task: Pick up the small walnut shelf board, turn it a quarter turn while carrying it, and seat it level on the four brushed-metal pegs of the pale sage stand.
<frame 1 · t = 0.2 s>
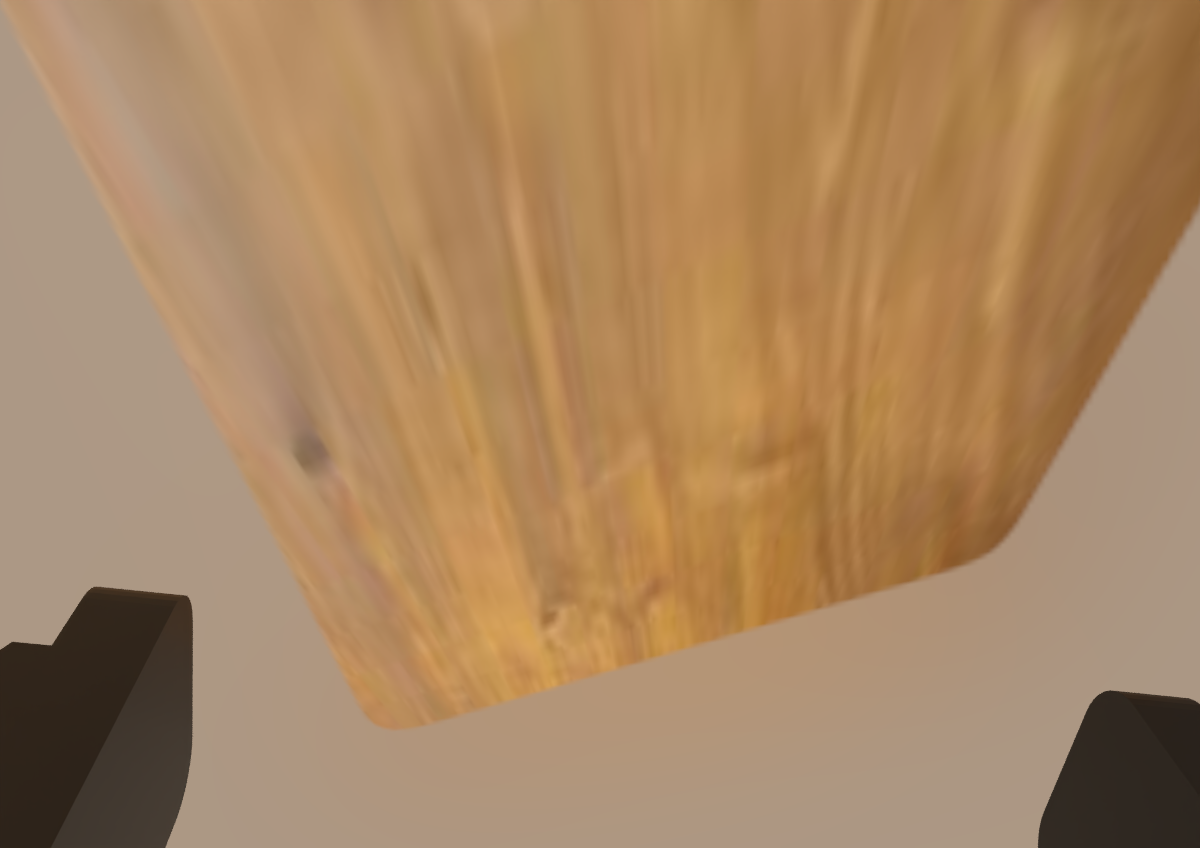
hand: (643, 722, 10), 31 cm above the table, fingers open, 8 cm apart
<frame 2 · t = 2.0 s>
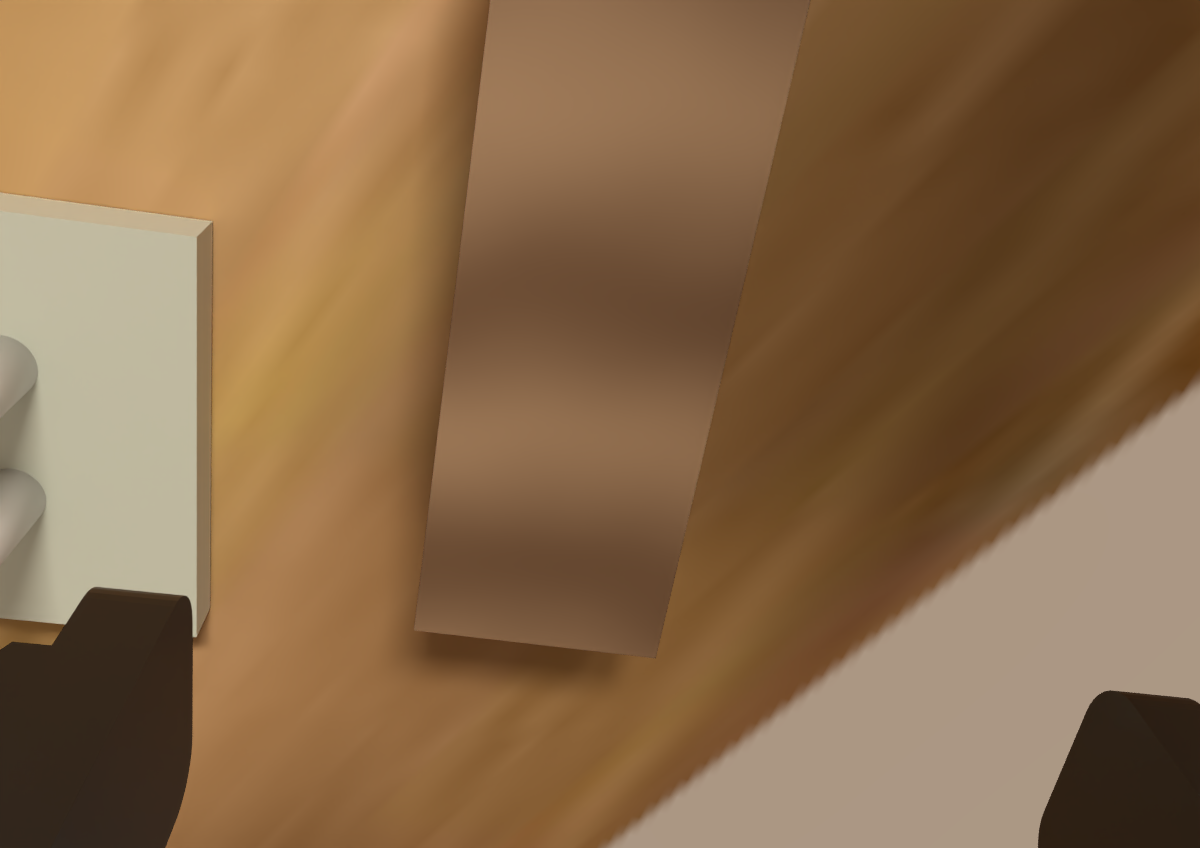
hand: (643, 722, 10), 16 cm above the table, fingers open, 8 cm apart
walnut shelf board: (591, 224, 25), on the table
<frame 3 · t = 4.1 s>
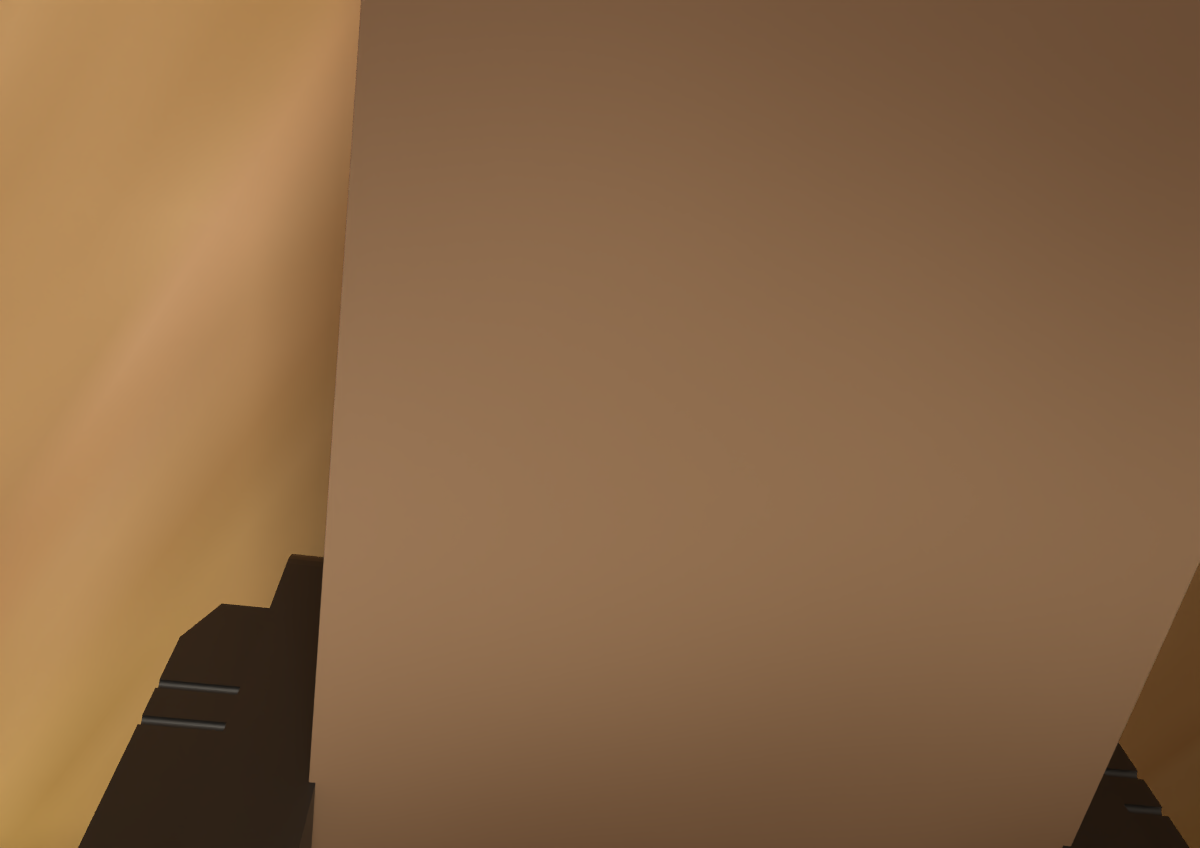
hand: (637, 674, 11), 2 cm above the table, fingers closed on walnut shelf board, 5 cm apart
walnut shelf board: (628, 585, 12), on the table, touching gripper
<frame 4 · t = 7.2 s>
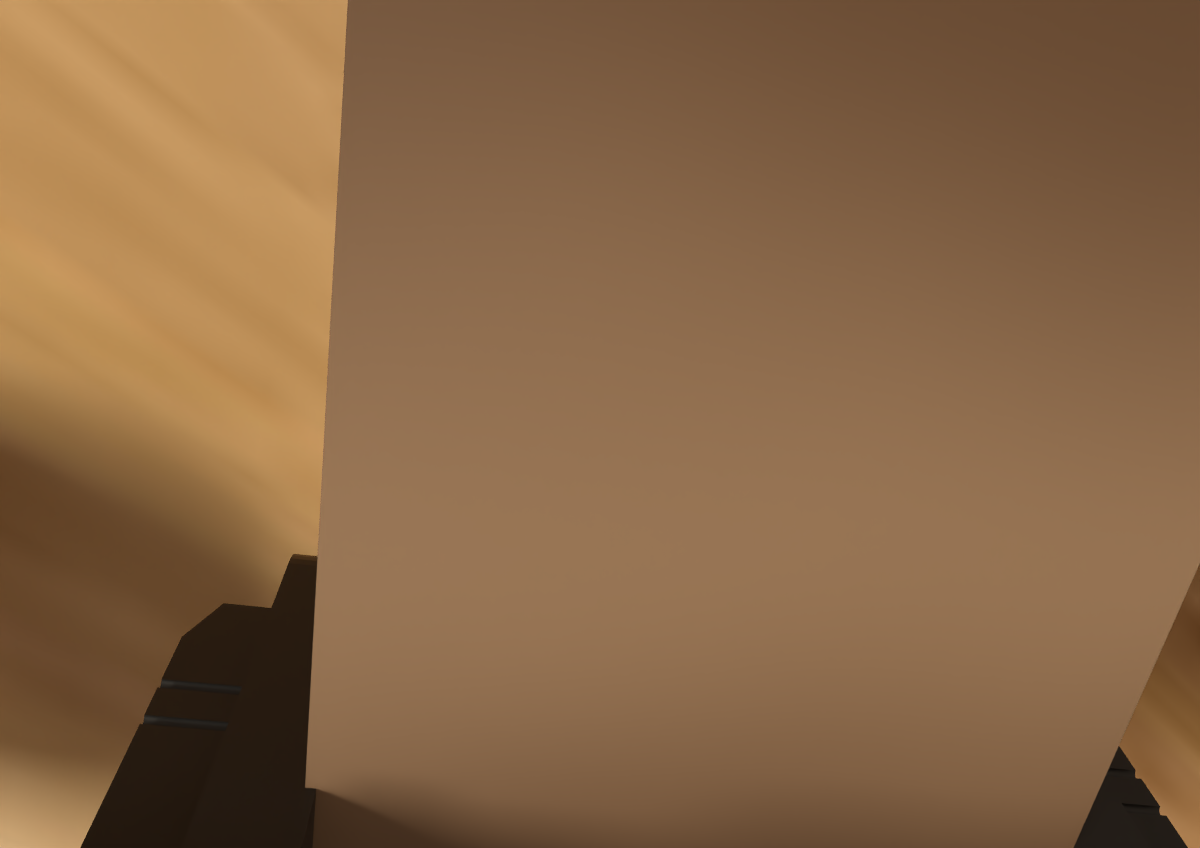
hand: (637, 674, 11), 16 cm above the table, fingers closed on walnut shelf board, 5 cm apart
walnut shelf board: (627, 590, 12), point 14 cm above the table, touching gripper
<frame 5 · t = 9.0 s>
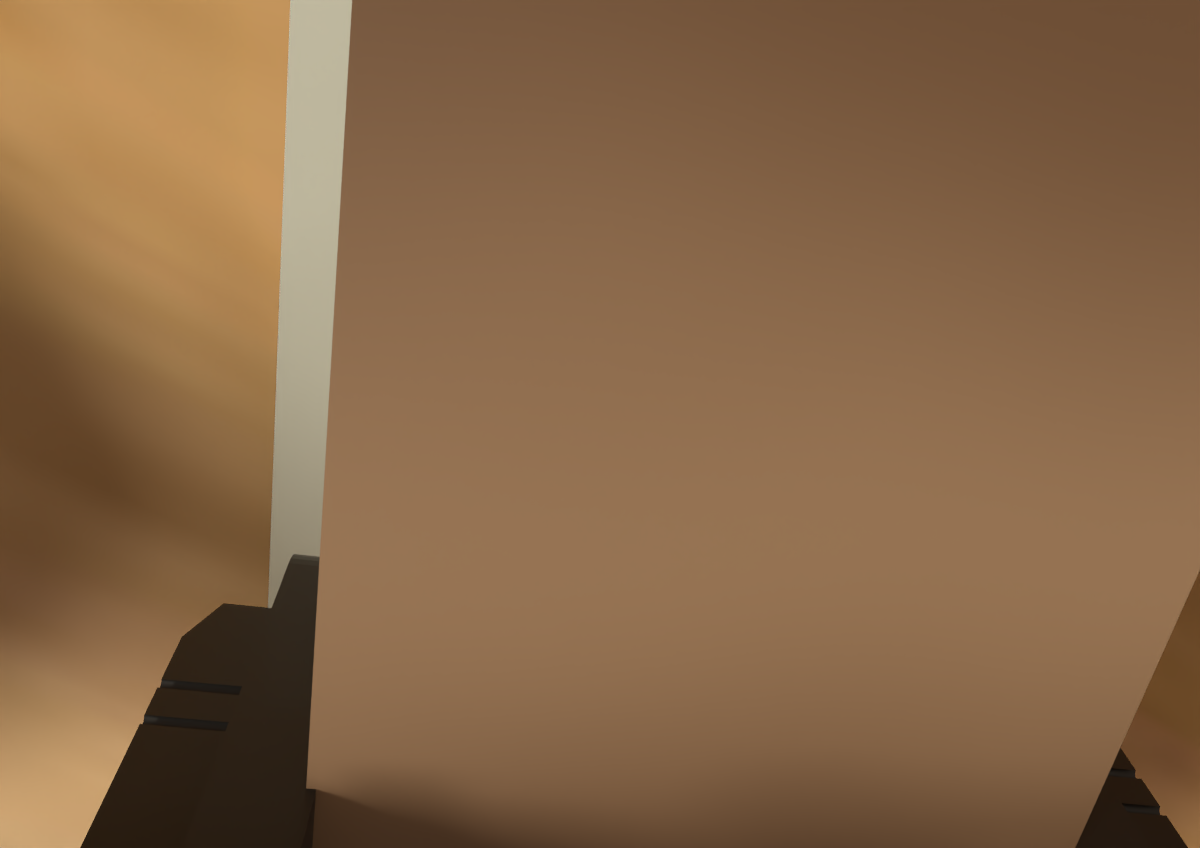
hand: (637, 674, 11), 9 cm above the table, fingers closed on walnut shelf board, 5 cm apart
peg stand: (592, 324, 19), on the table
walnut shelf board: (627, 591, 12), point 8 cm above the table, touching gripper
when the fingers open (8 cm above the table, at t = 10.6 s): walnut shelf board stays where it is, resting on peg stand.
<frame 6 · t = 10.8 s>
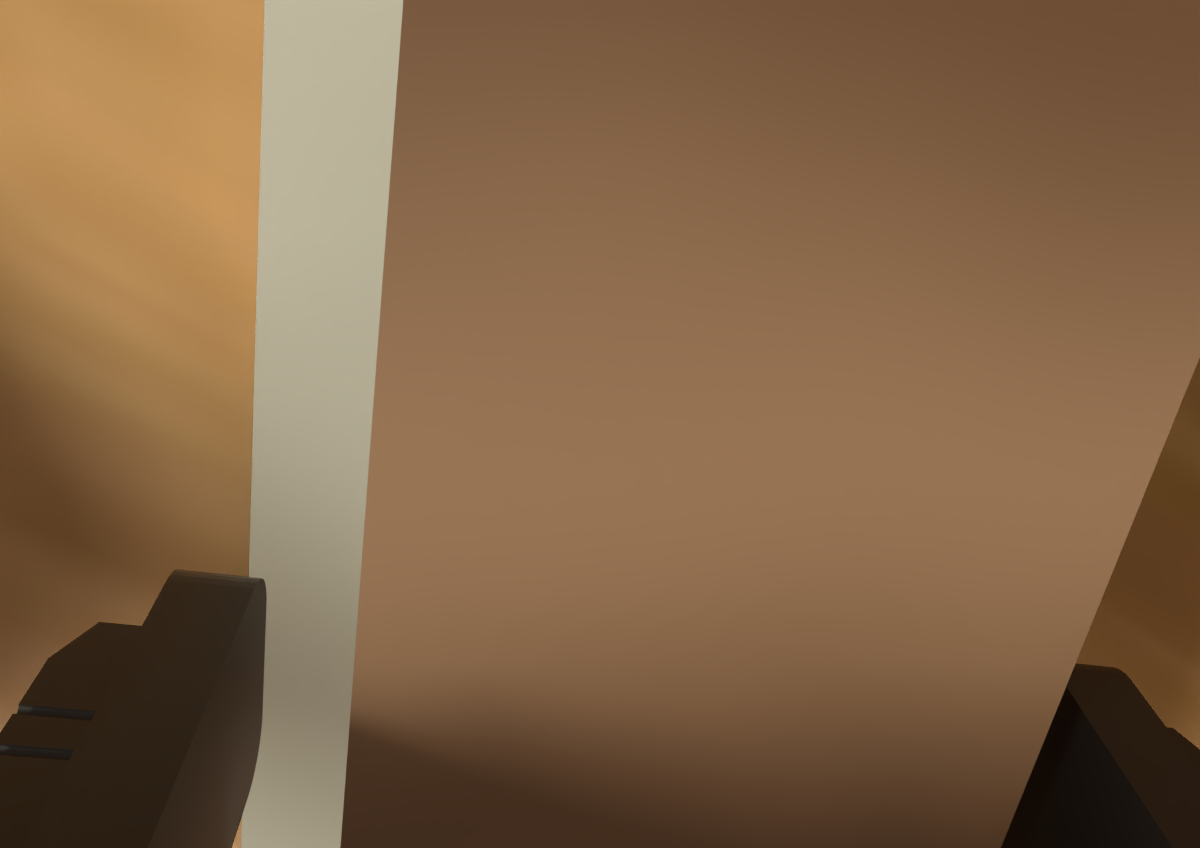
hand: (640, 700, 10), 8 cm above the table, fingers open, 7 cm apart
peg stand: (599, 363, 18), on the table
walnut shelf board: (634, 544, 13), point 5 cm above the table, touching peg stand
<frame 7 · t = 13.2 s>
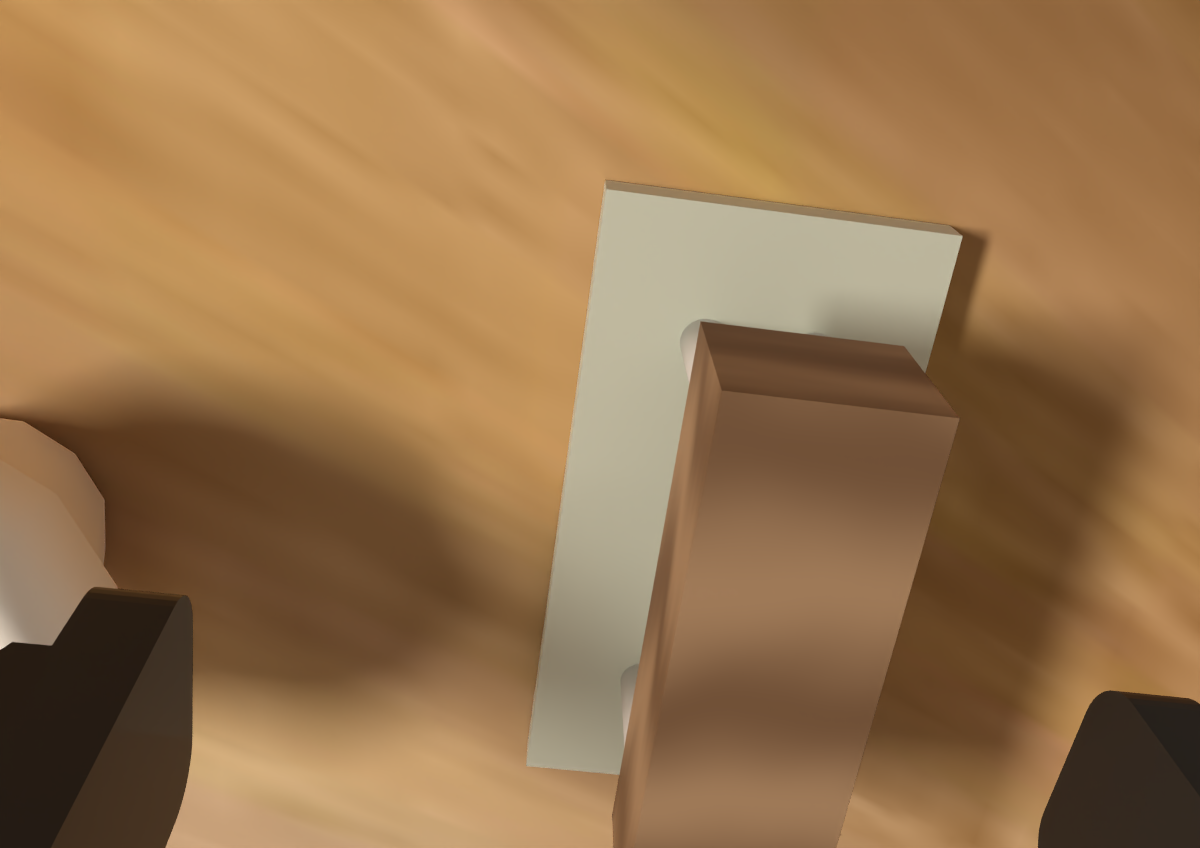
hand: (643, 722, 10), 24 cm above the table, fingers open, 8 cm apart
potted plant: (20, 513, 36), on the table
peg stand: (717, 510, 36), on the table
walnut shelf board: (744, 603, 31), point 5 cm above the table, touching peg stand
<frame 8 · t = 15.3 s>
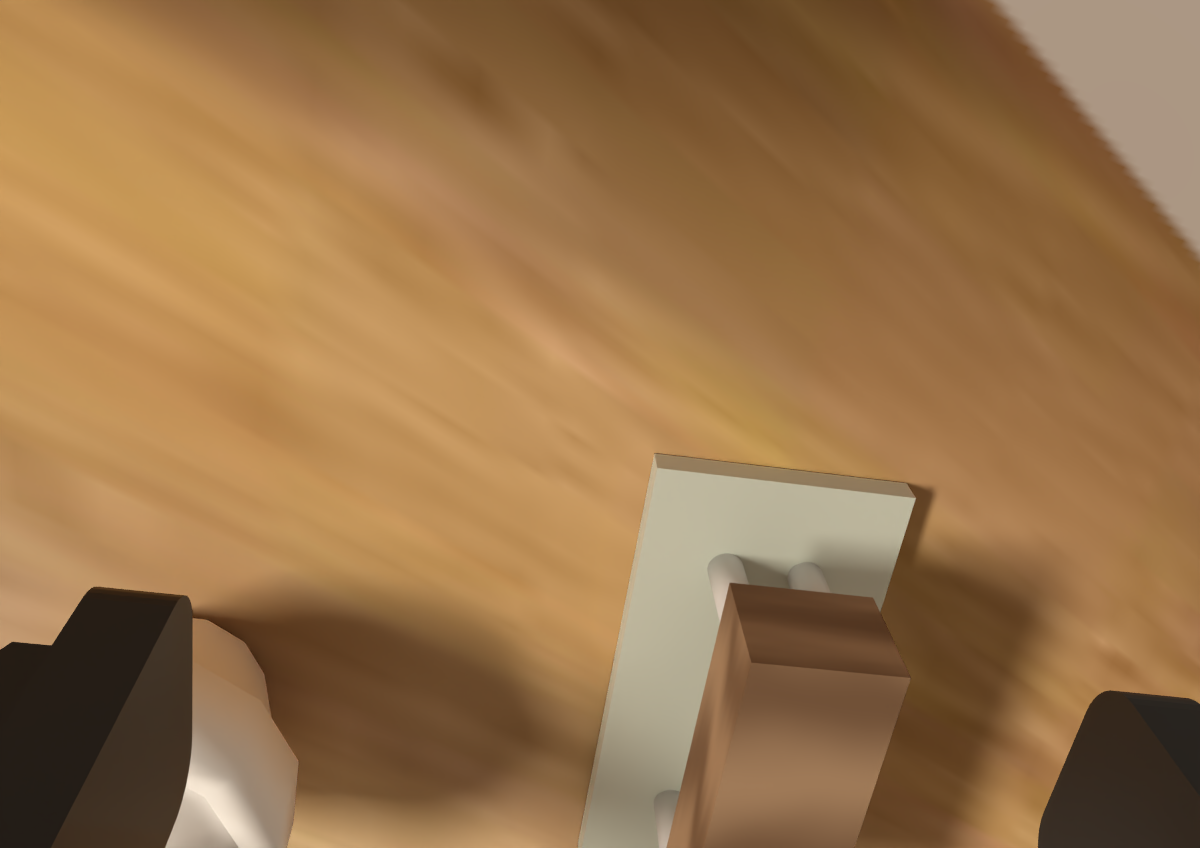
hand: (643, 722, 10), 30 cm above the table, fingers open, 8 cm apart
potted plant: (195, 681, 46), on the table
peg stand: (729, 677, 47), on the table
walnut shelf board: (754, 765, 43), point 5 cm above the table, touching peg stand
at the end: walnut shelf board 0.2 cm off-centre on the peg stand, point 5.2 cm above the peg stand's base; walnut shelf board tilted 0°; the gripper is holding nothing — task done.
